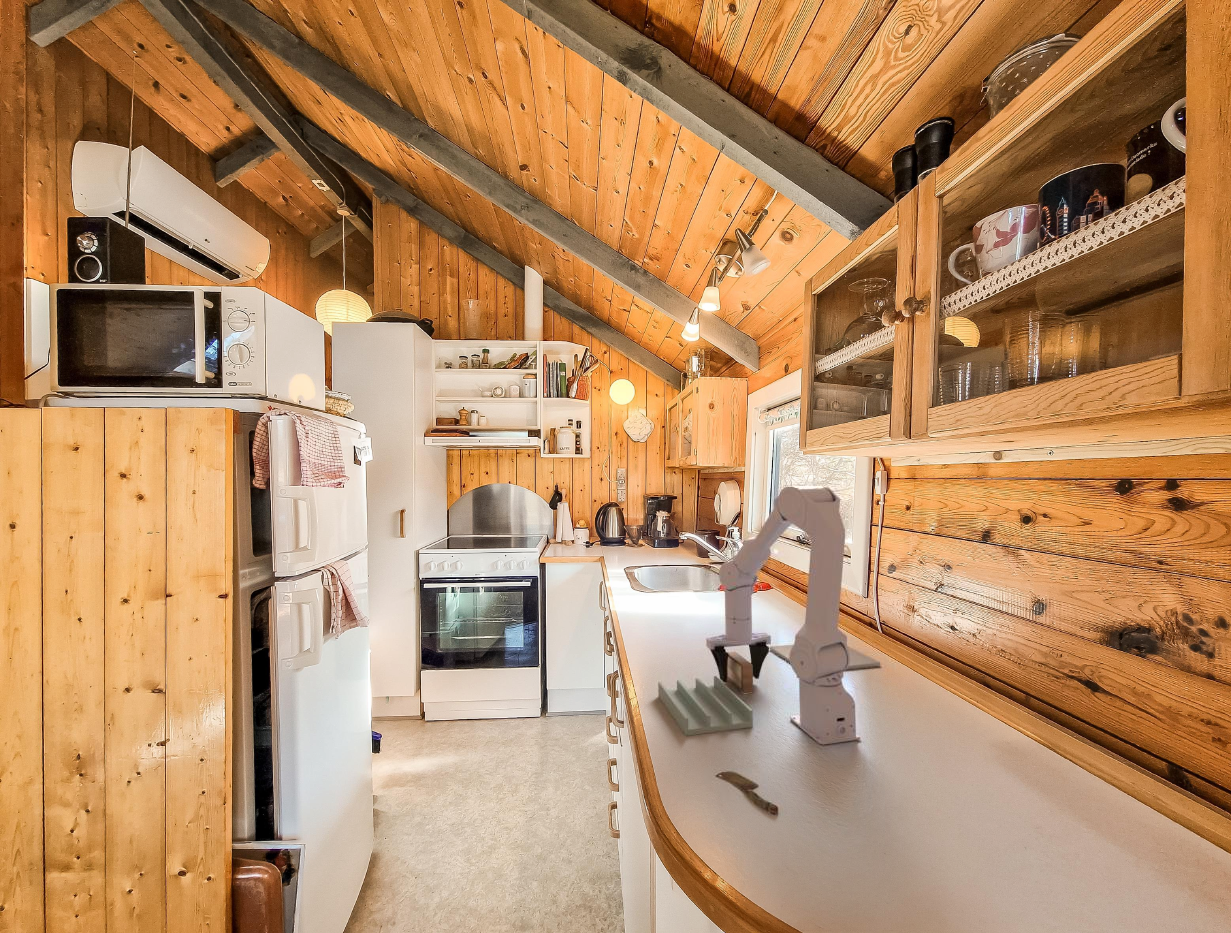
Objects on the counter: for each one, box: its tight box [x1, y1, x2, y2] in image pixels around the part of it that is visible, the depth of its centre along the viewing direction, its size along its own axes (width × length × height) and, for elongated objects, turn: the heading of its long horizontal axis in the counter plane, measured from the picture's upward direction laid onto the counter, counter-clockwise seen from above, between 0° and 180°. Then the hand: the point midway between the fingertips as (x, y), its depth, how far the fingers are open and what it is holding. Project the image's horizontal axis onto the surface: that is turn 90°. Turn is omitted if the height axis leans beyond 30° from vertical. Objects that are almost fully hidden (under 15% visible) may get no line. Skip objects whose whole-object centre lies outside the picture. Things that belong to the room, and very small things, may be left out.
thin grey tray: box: [769, 644, 882, 671], centre depth 122 cm, size 16×2×20 cm
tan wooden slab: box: [726, 651, 754, 694], centre depth 106 cm, size 8×2×6 cm, turn 12°
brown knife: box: [714, 770, 779, 815], centre depth 70 cm, size 12×1×5 cm
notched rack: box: [657, 675, 754, 737], centre depth 95 cm, size 16×13×3 cm
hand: (739, 678), depth 106 cm, fingers open, 7 cm apart
